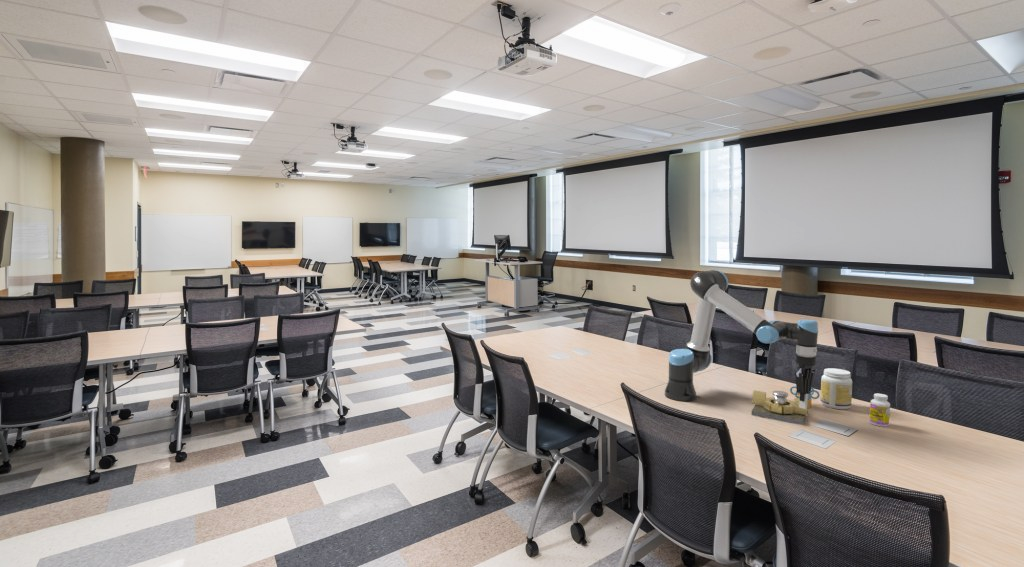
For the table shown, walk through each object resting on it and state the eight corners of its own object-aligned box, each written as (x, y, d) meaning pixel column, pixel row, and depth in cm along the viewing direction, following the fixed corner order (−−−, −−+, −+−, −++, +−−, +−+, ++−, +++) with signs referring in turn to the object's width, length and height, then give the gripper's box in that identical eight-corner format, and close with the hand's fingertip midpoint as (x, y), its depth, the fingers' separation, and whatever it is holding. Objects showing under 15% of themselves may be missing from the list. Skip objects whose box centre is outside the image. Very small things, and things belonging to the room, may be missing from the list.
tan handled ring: (749, 406, 215) (750, 394, 215) (756, 399, 224) (757, 387, 224) (804, 418, 200) (805, 405, 200) (810, 410, 210) (811, 397, 209)
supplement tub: (852, 405, 222) (855, 370, 221) (848, 412, 214) (851, 376, 212) (822, 399, 231) (824, 366, 229) (817, 406, 222) (819, 371, 220)
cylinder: (821, 411, 215) (823, 379, 214) (796, 409, 217) (798, 378, 216) (810, 402, 227) (812, 372, 226) (787, 400, 229) (788, 371, 228)
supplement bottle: (865, 422, 202) (867, 393, 200) (874, 420, 204) (876, 391, 203) (882, 428, 195) (884, 398, 194) (892, 425, 198) (894, 396, 197)
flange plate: (751, 414, 211) (752, 394, 211) (758, 403, 226) (759, 383, 225) (803, 425, 199) (804, 403, 199) (807, 412, 214) (808, 391, 213)
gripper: (807, 358, 196) (804, 413, 198) (822, 355, 203) (819, 407, 205) (789, 355, 203) (786, 407, 205) (804, 351, 209) (801, 402, 211)
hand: (802, 407), depth 205 cm, fingers closed
